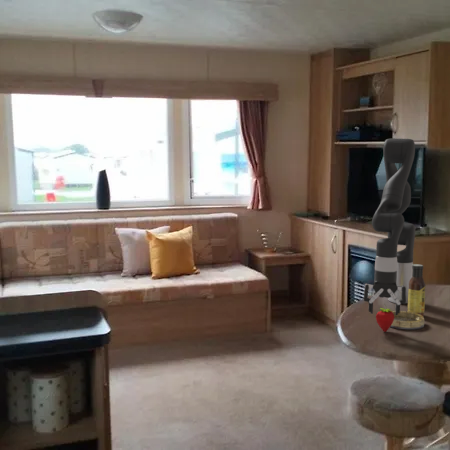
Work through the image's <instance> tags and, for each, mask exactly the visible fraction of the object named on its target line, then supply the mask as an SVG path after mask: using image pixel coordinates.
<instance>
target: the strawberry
mask: <svg viewBox="0 0 450 450" xmlns="http://www.w3.org/2000/svg"><path fill="white" fill-rule="evenodd" d="M384 305H385V307H386V308H383V307H382V308H381V307H379V309H380V310H378V311H377V313H376V314H375V320H376V323H377V324H378V326H379V328H380V329H381V330H382V332H384V333H386V332H387V331H388V330H389V329H390V328H391V327H390V326H391V325H392V323H393V321H394V314H393V311H394V310H392V309H391V308H388V307H387V305H386V304H385V303H384Z"/></svg>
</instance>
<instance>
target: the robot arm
mask: <svg viewBox="0 0 450 450" xmlns="http://www.w3.org/2000/svg"><path fill="white" fill-rule="evenodd" d="M382 151H383V153H382V154H383V162H384V170H385V181H386V182H385V185H384V188H383V191H382V194H381V195H382V196H381V199H380V204H379V205H378V207H377V209H376V210H375V212H374V214H373V216H372V220H371V227H372V228H373V229H374V231H376V232H379V233H387V237H385V238H379V239H377V241H376V249H375V251H376V252H375V260H374V261H375V262H374V275H373V276H374V277H373V278H374V279H373V284H369V283H365V284H364V292H363V301H364V302H367V303H368V312H370V313H369V314H373V313H374V302H375V300H377V299H378V298H381V299H382V298H388V299H387V300H388V301H389V302H391V303H393V304H394V305H395V306H394V307H395V309H394V311H395V315H398V314H399V313H400V311H401V305H402V304H403V305H404V304H408V289H409V281H410V279H411V278H412V274H413V269H412V265H414V248H415V246H414V245H415V237H416V227H415V225H414V224H413V223H407V222H405V218H404V215H403V213H404V212H405V211H406V210H407V208H409V207H410V204H411V200H412V197H411V196H412V192H411V191H412V190H411V189H412V188H411V185H410V183H409V182H408V178H409V176H410V173H411V169H412V166H413V164H414V163H413V162H414V159H415V155H416V154H415V153H416V144H415V141H414V139H411V138H396V137H395V138H387V139H385V140H384V142H383V149H382ZM396 164H398V165H399V164H401V166H400V167H399V169H398V168H397V166H396ZM398 246H405V247H404V248H403V249H401V250H399V251H398ZM372 289H373V291H374V292H373V294H372V295H371V296H370V297H369V292H370V291H371V290H372Z"/></svg>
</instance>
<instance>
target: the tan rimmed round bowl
mask: <svg viewBox="0 0 450 450" xmlns="http://www.w3.org/2000/svg"><path fill="white" fill-rule="evenodd" d="M392 311H393V314H394V321H393V323H392V325H391V326H390V328H392V329H395V328H396V329H395V330H401V329H402V330H403V331H407V330H408V331H417V330H421V329H423V328H424V327H425V318H424V315H423V316H422V315H420V314H417V313H413V312H408V310H407V311H406V310H400V313H399V314H398V315H395V310H392Z"/></svg>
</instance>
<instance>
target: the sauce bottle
mask: <svg viewBox="0 0 450 450" xmlns="http://www.w3.org/2000/svg"><path fill="white" fill-rule="evenodd" d="M412 269H413V271H412V278H411V279H410V281H409V289H408V303H407V311H408V312H413V313H417V314H420V315H422V316H423V317H424V315H425V309H426V307H425V305H426V303H425V302H426V282H425V280H424V275H423V271H424V265H423V264H417V263H413V265H412Z"/></svg>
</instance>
